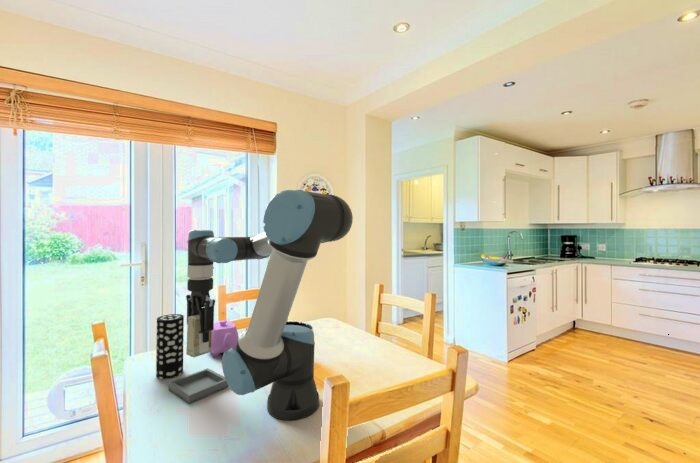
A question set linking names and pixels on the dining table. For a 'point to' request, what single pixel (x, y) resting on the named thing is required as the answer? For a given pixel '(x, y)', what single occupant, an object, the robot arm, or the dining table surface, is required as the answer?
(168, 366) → the white-spotted black cylinder
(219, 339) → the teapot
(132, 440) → the dining table surface
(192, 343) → the skincare box
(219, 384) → the tray
